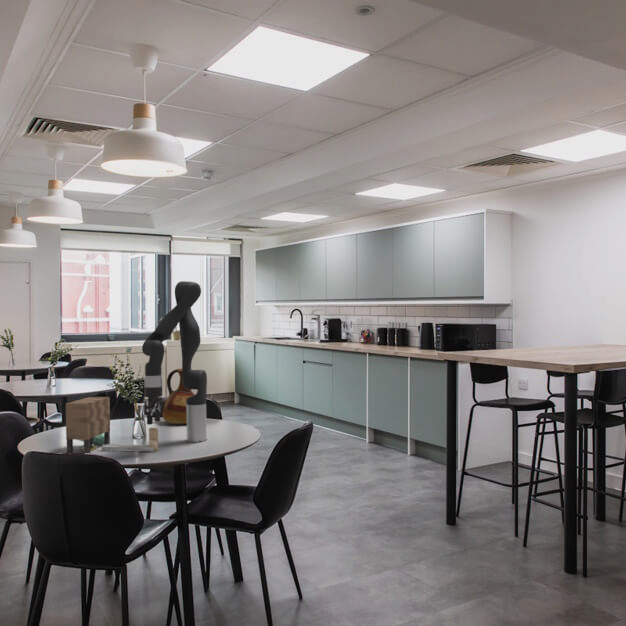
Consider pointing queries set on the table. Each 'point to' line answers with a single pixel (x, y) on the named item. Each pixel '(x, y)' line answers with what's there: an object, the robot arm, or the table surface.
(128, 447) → the plank with tan block
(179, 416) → the ceramic pitcher
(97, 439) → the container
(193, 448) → the table surface
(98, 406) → the walnut cabinet
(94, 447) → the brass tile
